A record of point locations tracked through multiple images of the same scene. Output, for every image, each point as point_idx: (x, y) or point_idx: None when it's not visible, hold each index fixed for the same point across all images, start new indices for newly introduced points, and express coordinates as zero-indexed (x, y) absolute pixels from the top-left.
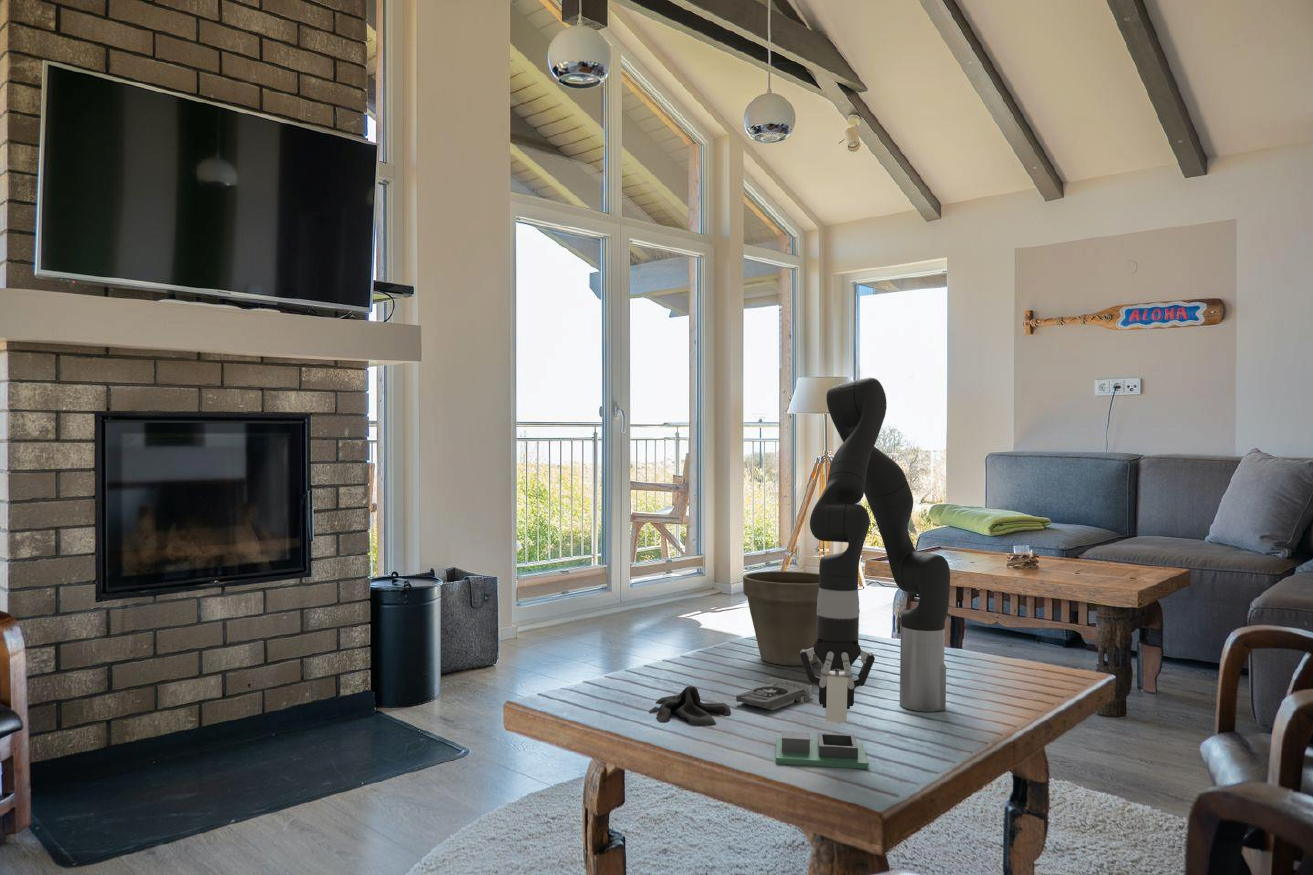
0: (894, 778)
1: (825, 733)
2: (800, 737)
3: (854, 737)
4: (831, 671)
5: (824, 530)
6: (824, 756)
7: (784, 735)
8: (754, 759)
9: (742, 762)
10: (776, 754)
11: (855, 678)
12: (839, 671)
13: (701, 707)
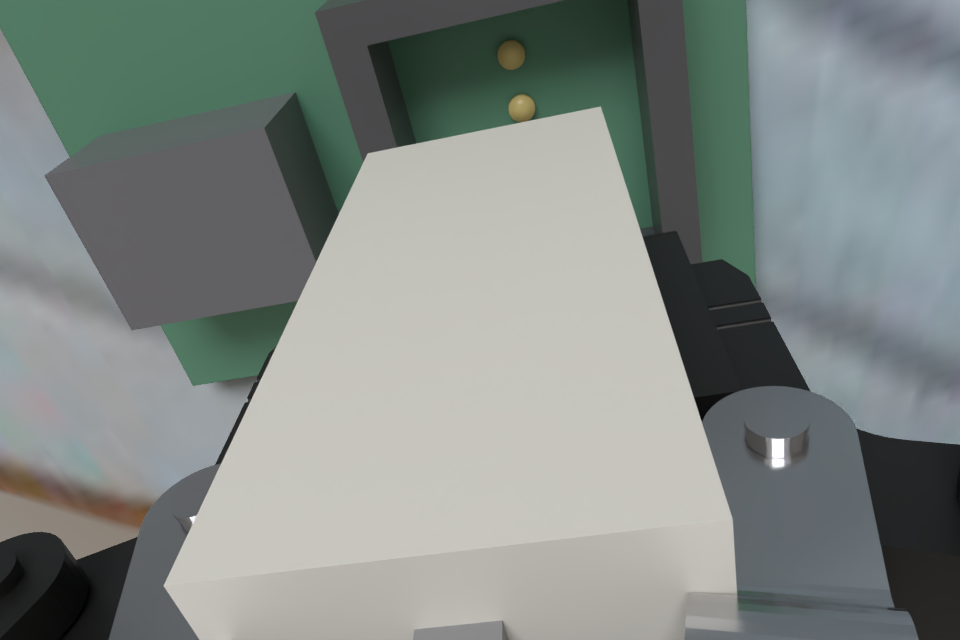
0: (896, 366)
1: (389, 8)
2: (248, 277)
3: (674, 24)
4: (321, 611)
5: None
6: None
7: (119, 271)
8: (68, 343)
9: (41, 402)
10: (168, 334)
11: (937, 569)
12: (529, 541)
13: None
